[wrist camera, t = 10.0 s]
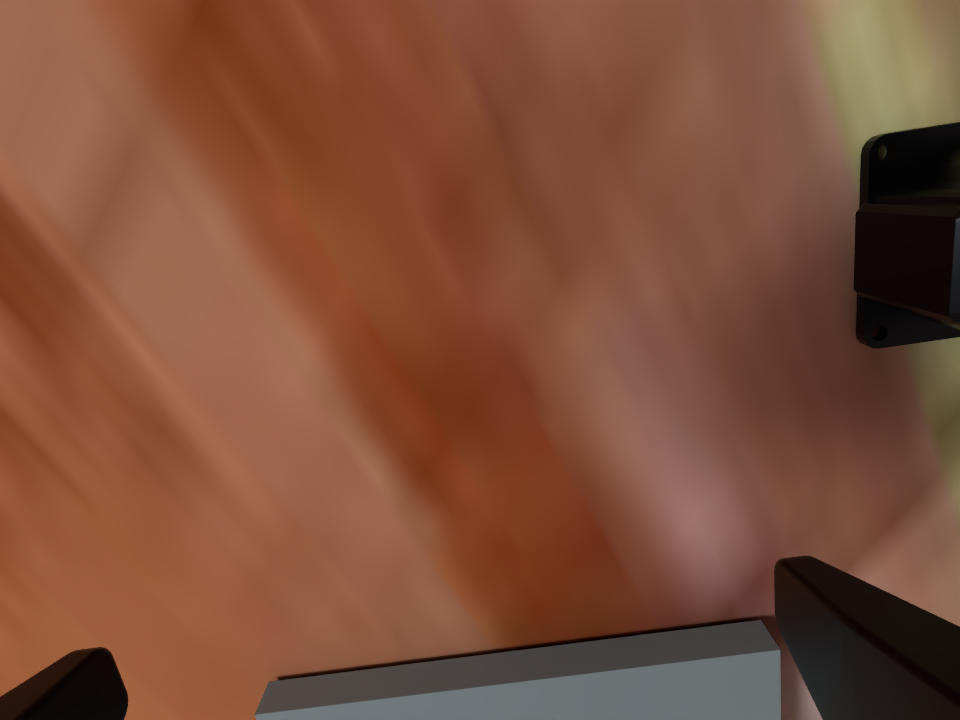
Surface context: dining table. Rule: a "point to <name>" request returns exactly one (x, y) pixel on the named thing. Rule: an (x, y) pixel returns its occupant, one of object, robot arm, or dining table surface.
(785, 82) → the dining table surface
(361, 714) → the board
